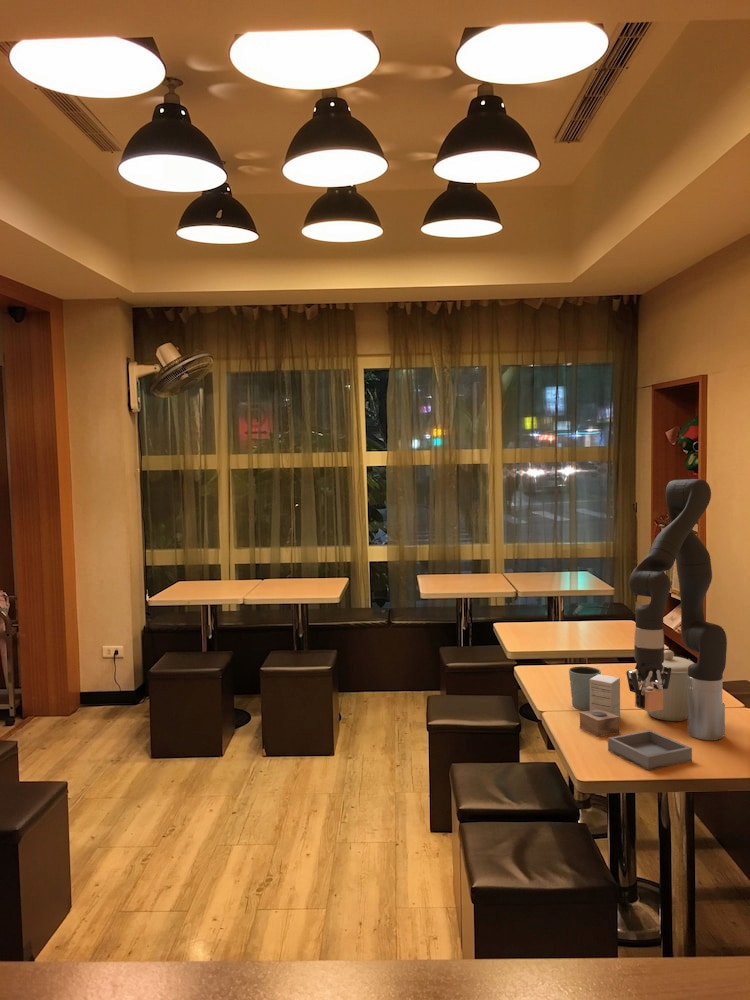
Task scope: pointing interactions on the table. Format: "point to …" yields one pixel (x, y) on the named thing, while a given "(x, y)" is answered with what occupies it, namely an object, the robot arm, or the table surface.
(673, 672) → the canister
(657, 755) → the charcoal tray
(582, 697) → the teal cup
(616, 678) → the supplement box
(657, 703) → the terracotta block
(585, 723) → the walnut block
